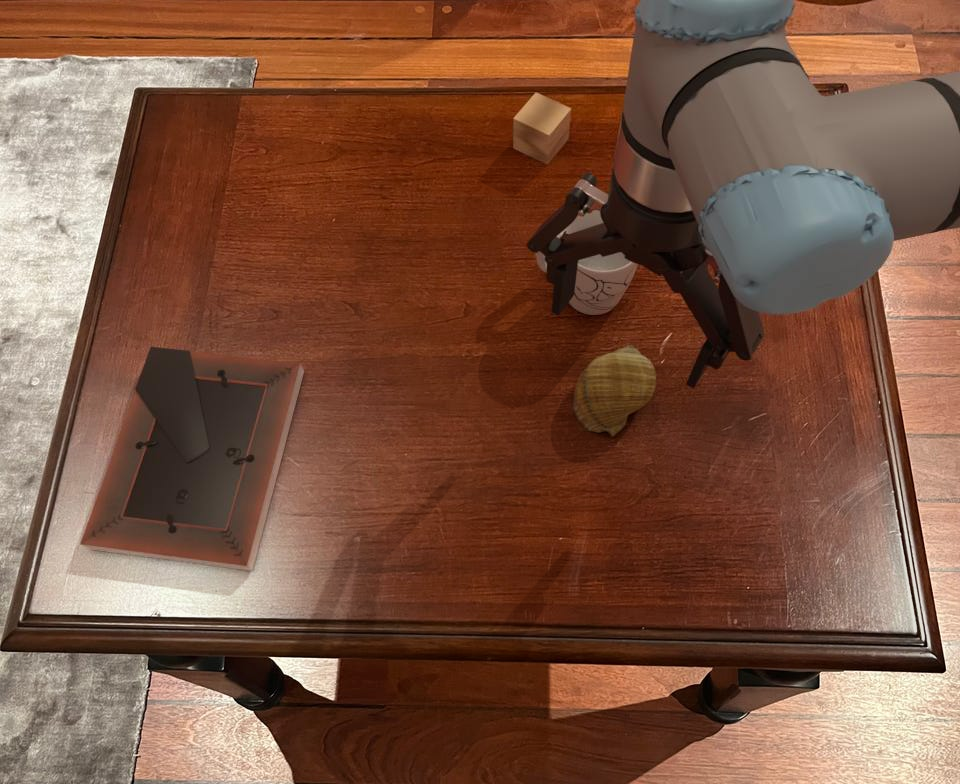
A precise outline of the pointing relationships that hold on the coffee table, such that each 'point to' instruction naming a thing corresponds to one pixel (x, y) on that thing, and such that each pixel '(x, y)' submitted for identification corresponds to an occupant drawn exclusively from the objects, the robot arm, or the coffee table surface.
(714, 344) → the robot arm
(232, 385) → the picture frame
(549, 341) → the coffee table surface
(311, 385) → the coffee table surface
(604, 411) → the seashell
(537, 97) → the maple block
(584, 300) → the mug
